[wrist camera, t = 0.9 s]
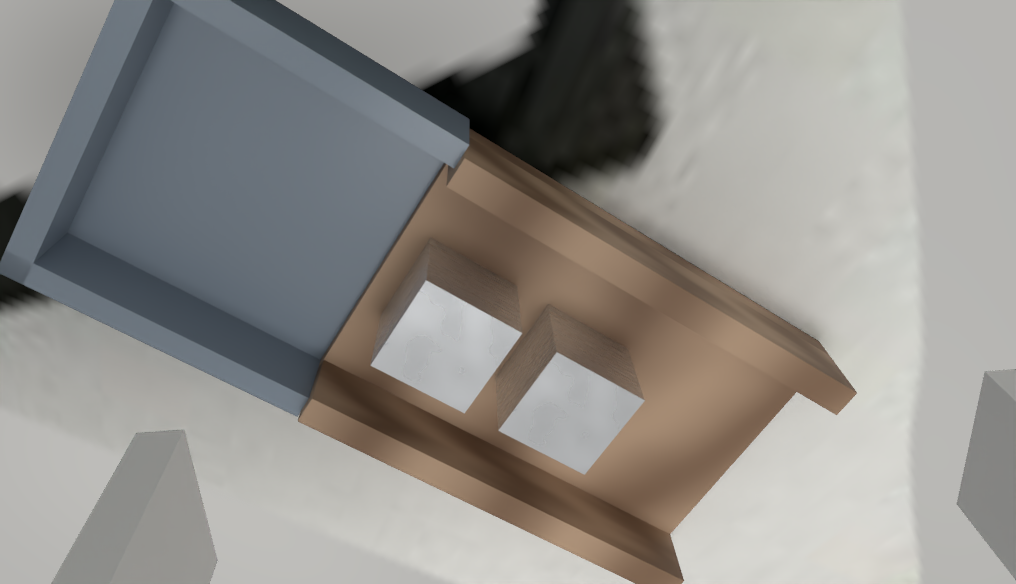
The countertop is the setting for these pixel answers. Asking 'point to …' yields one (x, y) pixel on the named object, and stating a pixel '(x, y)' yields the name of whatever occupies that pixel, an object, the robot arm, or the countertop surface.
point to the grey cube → (447, 326)
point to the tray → (229, 187)
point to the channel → (612, 312)
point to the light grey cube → (566, 390)
